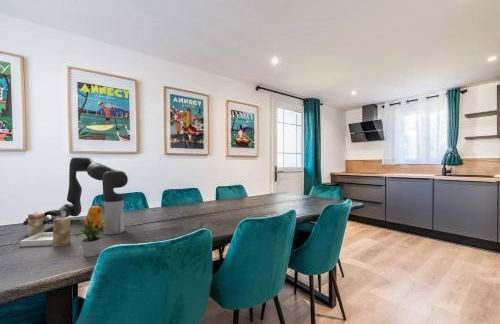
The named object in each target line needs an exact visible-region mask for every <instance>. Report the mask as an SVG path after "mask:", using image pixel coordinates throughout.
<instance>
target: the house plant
mask: <svg viewBox="0 0 500 324" xmlns="http://www.w3.org/2000/svg"><path fill="white" fill-rule="evenodd" d="M94 217H95V216H94ZM86 218H87V216H86ZM86 218H85V219H86ZM76 219H77V220H79V221H80V222H81V223H79V222H75V224H72V226H73V225H74V226H75V225H76V226H78V227H80V225H81V227H82V229H80V232H81V233H78V234H76V235H75V239H76V238H77V237H79V236H81V237H83V239H82V240H81V246H82V250H83V251H82V252H83V256H84V257H86V258H87V257H89V258H90V257H95V256H97V255H99V254H100V250H101V245H102V239H103V238H102V237H103V236H100V235H101V234H102V233H103V232H104V231H103V229H107V228H104V227H102V228H100V226H101V225H102V224H103V223H104V222H105V221H106V220H107V219H106V220H105V221H104V222H103V223H102V224H101V225H100V226H99V224H100V221H101V219H102V220H103V217H102V218H101V219H100V221H99V223H97V224H96V225H95V227H94V228H93V220H94V219H95V218H93V220H92V222H91V221H90V220H89V219H88V218H87V224H88V225H87V224H85V221H83V220H82V219H81V218H78V217H76ZM108 219H109V218H108ZM71 223H73V221H72V222H71V221H70V224H71ZM76 223H77V224H76ZM78 224H79V225H78ZM84 226H85V227H84ZM98 227H99V228H98ZM83 228H84V229H83ZM105 231H106V230H105ZM82 235H85V236H86V237H84V236H82Z"/></svg>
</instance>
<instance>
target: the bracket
mask: <svg viewBox="0 0 500 324" xmlns="http://www.w3.org/2000/svg"><path fill="white" fill-rule="evenodd" d="M103 213H104V207H102V206H99V205H92V206H90V207H89V208H88V212H87V215H86V217H87V218H88V219H89V220H90V221H91V222H92V220H93V218H95V219H94V220H93V229H94V227H95V225H96V224H97V223H99V221H100V219H101V218H102V219H101V221H100V224H99V226H100V225H101V224H102V223H103V222H104V219H103V217H102V214H103ZM94 216H95V217H94ZM87 218H85V221H84V223H85V224H87ZM87 225H88V224H87ZM83 226H84V225H83ZM84 227H85V226H84ZM84 227H83V228H84ZM98 228H99V227H98ZM98 228H97V229H98ZM102 228H104V223H103V224H102V225H101V226H100V228H99V229H102Z"/></svg>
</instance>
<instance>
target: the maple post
mask: <svg viewBox="0 0 500 324" xmlns="http://www.w3.org/2000/svg"><path fill="white" fill-rule="evenodd" d="M44 213H45V212H33V213H30V214H28V215H27V218H28V225H27V237H31V236H34V235H36V234H39V233H43V232H45V225H43V224H42V222H43V220H44V217H45V214H44Z"/></svg>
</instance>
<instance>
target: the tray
mask: <svg viewBox="0 0 500 324" xmlns="http://www.w3.org/2000/svg"><path fill="white" fill-rule="evenodd" d="M39 246H53V231H50V232H49V231H48V232H47V231H46V232H45V231H44V232H43V233H39V234H36V235H34V236H28V237H26V238H24V239H22V240H20V241H19V247H20V248H21V247H39Z"/></svg>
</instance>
